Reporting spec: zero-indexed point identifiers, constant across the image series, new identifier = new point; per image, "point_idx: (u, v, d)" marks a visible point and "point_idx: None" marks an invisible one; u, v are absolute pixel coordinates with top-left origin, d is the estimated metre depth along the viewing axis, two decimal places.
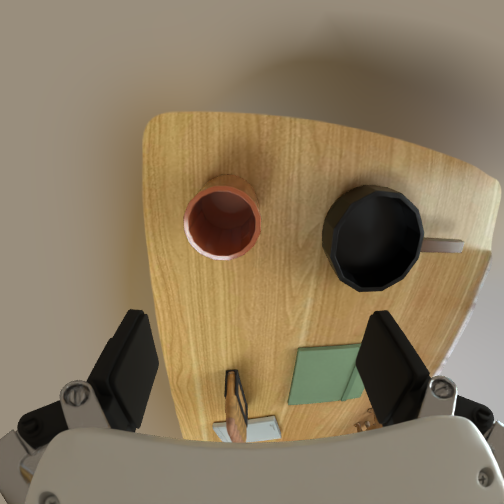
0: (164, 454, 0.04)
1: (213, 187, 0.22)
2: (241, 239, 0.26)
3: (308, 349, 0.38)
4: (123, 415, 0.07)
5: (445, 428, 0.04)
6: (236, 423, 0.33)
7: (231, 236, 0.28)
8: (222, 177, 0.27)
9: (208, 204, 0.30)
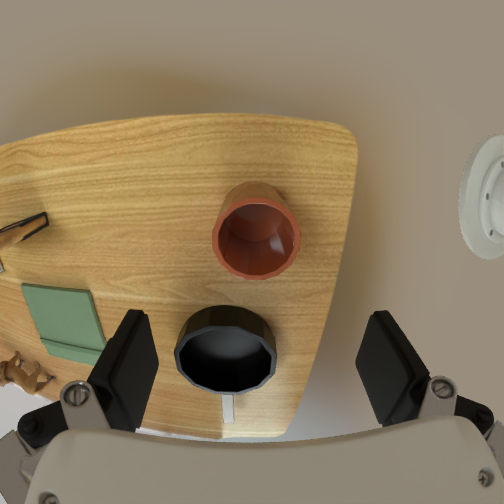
0: (164, 453, 0.04)
1: (299, 233, 0.20)
2: (227, 247, 0.23)
3: (90, 301, 0.31)
4: (122, 415, 0.07)
5: (445, 428, 0.04)
6: None
7: (223, 227, 0.25)
8: None
9: None
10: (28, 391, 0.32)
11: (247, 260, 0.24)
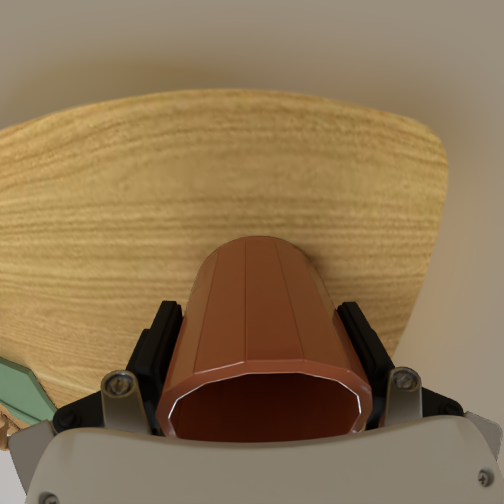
0: (164, 453, 0.04)
1: (370, 410, 0.07)
2: (203, 394, 0.10)
3: (34, 382, 0.18)
4: None
5: (445, 428, 0.04)
6: None
7: None
8: None
9: None
10: None
11: (244, 412, 0.10)
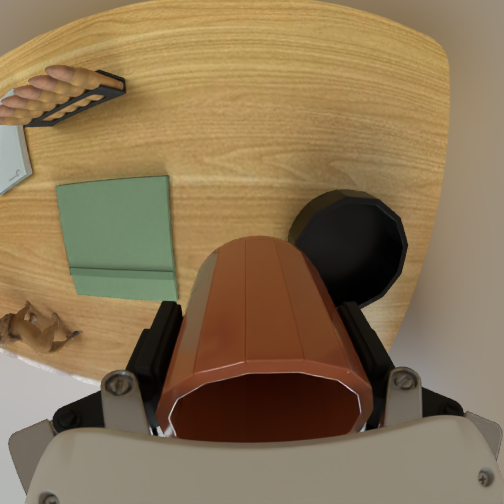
0: (164, 454, 0.04)
1: (371, 410, 0.07)
2: (203, 394, 0.10)
3: (167, 190, 0.26)
4: None
5: (445, 428, 0.04)
6: (55, 88, 0.14)
7: None
8: None
9: None
10: (40, 351, 0.27)
11: (245, 412, 0.10)
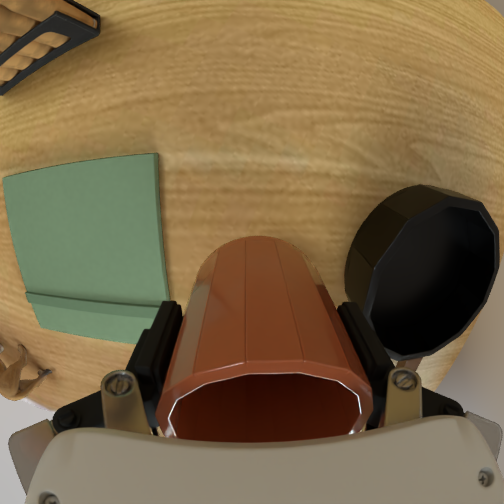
0: (164, 454, 0.04)
1: (370, 410, 0.07)
2: (203, 394, 0.10)
3: (156, 177, 0.15)
4: None
5: (445, 428, 0.04)
6: None
7: None
8: None
9: None
10: (5, 395, 0.16)
11: (244, 412, 0.10)
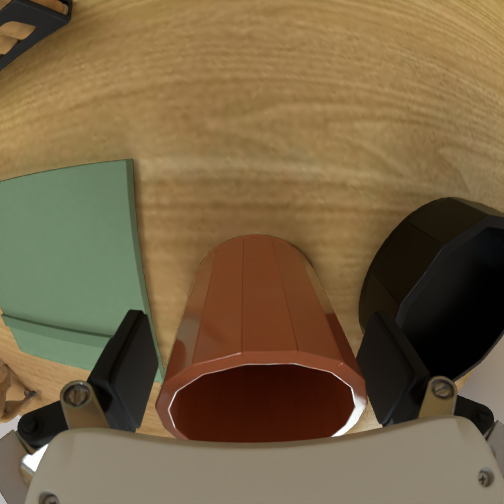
0: (164, 454, 0.04)
1: (365, 403, 0.07)
2: (202, 388, 0.10)
3: (130, 189, 0.12)
4: (122, 415, 0.07)
5: (445, 428, 0.04)
6: None
7: None
8: None
9: None
10: None
11: (243, 406, 0.11)
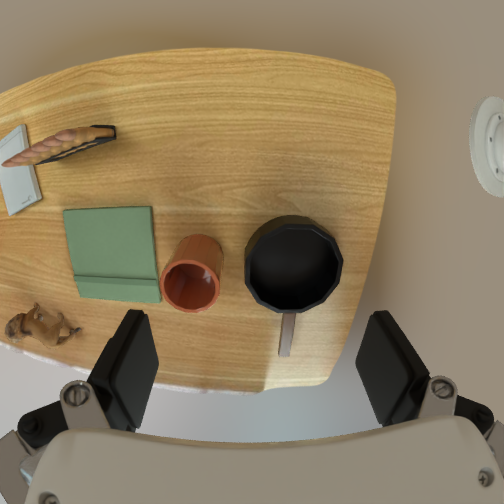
0: (164, 454, 0.04)
1: (218, 282, 0.29)
2: (174, 287, 0.32)
3: (151, 217, 0.33)
4: (122, 415, 0.07)
5: (445, 428, 0.04)
6: (62, 144, 0.21)
7: (173, 271, 0.33)
8: (222, 263, 0.34)
9: None
10: (48, 344, 0.34)
11: (189, 296, 0.32)
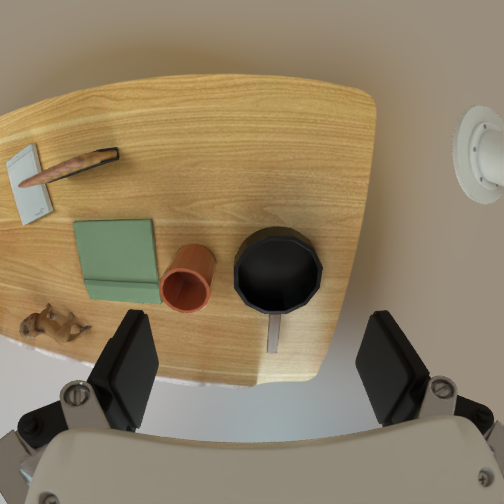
0: (164, 453, 0.04)
1: (208, 287, 0.33)
2: (172, 291, 0.36)
3: (151, 229, 0.38)
4: (123, 415, 0.07)
5: (445, 428, 0.04)
6: (71, 168, 0.26)
7: (172, 276, 0.38)
8: (214, 270, 0.38)
9: None
10: (60, 341, 0.39)
11: (185, 299, 0.37)
